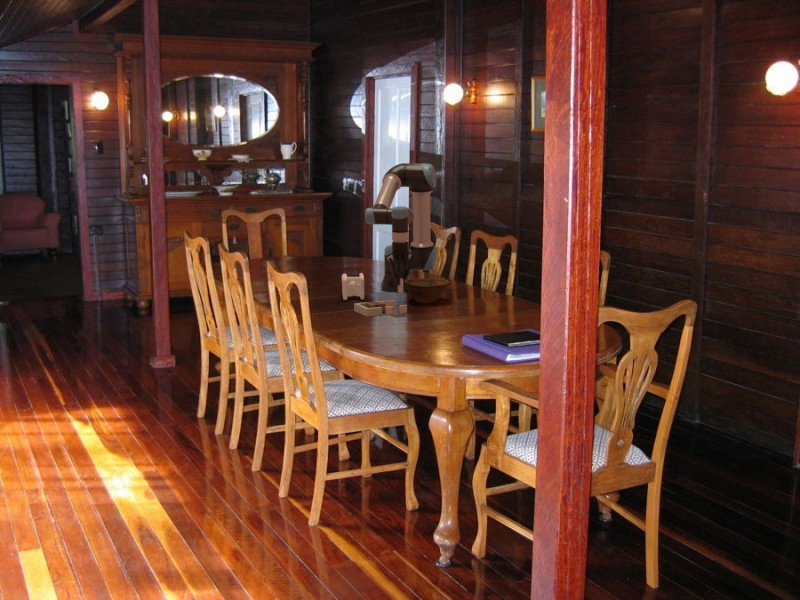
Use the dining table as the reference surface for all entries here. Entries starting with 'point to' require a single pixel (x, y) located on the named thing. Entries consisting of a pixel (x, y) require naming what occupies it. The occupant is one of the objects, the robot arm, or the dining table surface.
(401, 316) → the mat
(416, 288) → the bowl
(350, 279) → the cable organizer
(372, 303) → the block
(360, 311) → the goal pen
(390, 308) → the channel
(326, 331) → the dining table surface
